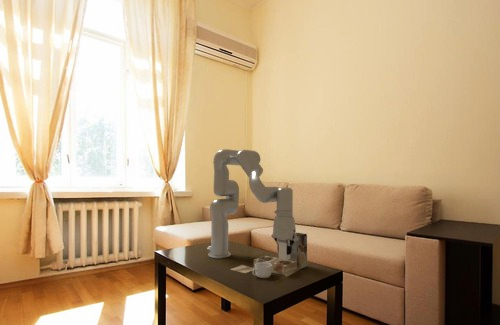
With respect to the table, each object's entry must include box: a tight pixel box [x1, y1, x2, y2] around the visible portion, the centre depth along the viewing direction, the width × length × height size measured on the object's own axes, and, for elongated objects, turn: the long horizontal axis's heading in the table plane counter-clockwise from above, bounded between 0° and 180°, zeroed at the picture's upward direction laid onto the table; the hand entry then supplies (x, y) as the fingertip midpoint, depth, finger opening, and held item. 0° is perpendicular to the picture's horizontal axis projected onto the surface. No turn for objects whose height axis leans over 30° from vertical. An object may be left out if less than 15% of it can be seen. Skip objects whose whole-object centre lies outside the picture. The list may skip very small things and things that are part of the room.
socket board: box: [253, 254, 298, 278], centre depth 138 cm, size 18×10×5 cm, turn 54°
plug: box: [278, 239, 290, 261], centre depth 136 cm, size 4×4×10 cm
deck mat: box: [230, 264, 255, 274], centre depth 138 cm, size 9×9×1 cm
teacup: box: [251, 262, 273, 279], centre depth 128 cm, size 10×8×5 cm
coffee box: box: [289, 232, 308, 271], centre depth 144 cm, size 9×6×16 cm
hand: (284, 253), depth 135 cm, fingers closed on plug, 4 cm apart
